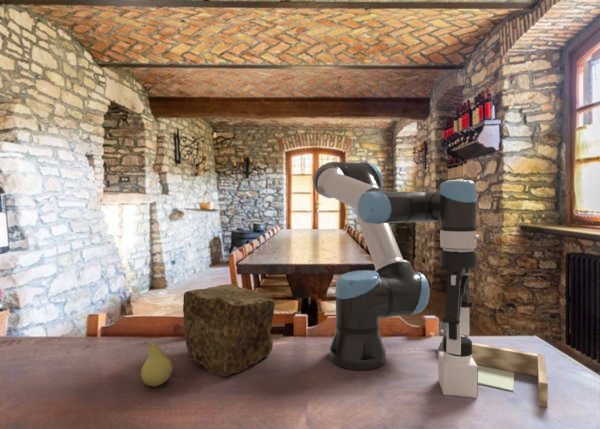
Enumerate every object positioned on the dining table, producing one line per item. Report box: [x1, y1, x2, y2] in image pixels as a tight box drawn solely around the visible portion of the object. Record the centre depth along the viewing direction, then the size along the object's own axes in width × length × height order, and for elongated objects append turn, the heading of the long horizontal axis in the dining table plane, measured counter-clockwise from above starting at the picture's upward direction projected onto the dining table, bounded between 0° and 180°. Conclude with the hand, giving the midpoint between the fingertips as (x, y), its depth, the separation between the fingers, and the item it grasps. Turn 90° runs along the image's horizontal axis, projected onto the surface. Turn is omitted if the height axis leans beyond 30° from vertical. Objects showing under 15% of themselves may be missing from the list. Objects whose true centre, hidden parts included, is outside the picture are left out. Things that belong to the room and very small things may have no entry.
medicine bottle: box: [437, 335, 479, 399], centre depth 85 cm, size 7×7×12 cm
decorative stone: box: [182, 283, 275, 377], centre depth 102 cm, size 21×20×20 cm
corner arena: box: [472, 342, 549, 408], centre depth 90 cm, size 21×16×5 cm
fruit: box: [140, 340, 173, 388], centre depth 88 cm, size 7×8×12 cm
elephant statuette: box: [438, 320, 469, 353], centre depth 108 cm, size 9×12×8 cm
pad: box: [476, 364, 516, 392], centre depth 91 cm, size 10×10×1 cm
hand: (458, 343), depth 85 cm, fingers open, 13 cm apart
